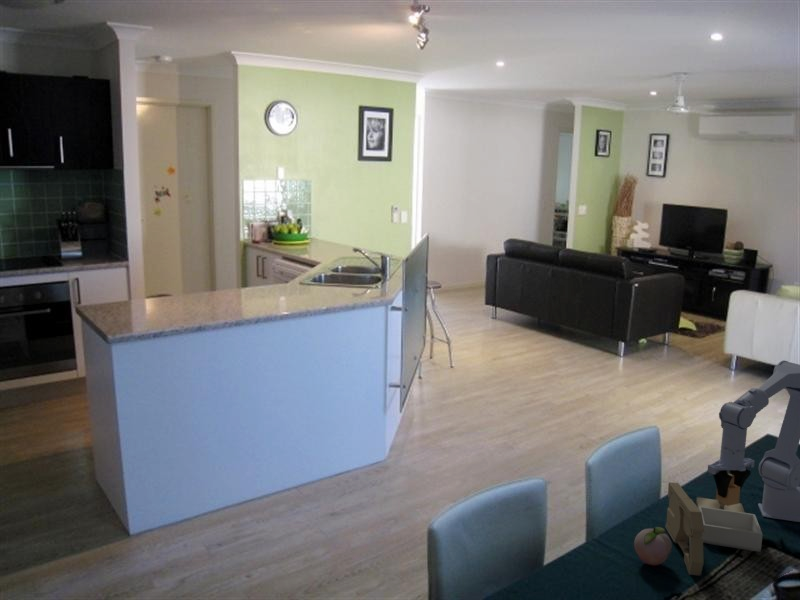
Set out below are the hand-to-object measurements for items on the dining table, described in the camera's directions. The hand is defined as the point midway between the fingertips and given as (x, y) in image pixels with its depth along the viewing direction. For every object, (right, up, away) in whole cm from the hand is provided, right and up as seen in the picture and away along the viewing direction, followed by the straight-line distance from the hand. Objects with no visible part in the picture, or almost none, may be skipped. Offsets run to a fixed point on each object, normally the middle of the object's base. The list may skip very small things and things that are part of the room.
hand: (728, 494), depth 178 cm
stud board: (+3, -9, +10) cm, 14 cm away
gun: (-16, -12, -8) cm, 22 cm away
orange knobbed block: (0, -2, +1) cm, 2 cm away
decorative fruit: (-27, -13, -15) cm, 34 cm away
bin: (-1, -11, -2) cm, 11 cm away
